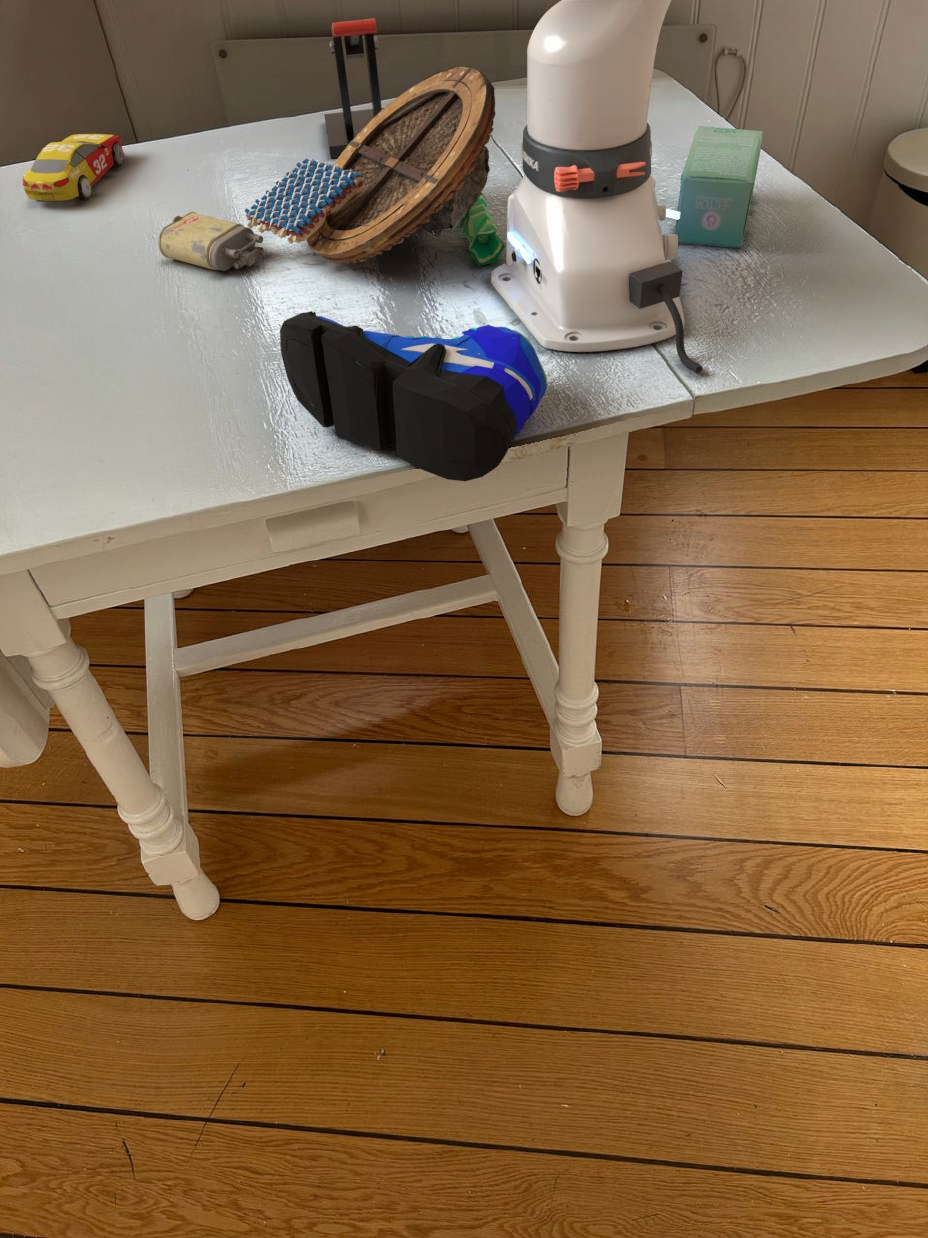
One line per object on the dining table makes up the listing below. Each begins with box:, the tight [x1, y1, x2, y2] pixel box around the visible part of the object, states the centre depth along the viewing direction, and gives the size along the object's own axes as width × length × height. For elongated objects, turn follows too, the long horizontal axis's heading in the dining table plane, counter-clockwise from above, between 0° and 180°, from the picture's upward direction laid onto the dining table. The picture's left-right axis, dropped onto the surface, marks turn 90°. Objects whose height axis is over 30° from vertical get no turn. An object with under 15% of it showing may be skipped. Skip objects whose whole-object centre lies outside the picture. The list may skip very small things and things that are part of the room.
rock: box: [419, 145, 491, 239], centre depth 101 cm, size 17×10×10 cm
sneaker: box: [279, 310, 548, 482], centre depth 79 cm, size 9×24×15 cm
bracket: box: [324, 25, 385, 160], centre depth 121 cm, size 12×10×13 cm
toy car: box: [22, 133, 125, 202], centre depth 119 cm, size 8×17×5 cm, turn 171°
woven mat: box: [244, 158, 364, 245], centre depth 99 cm, size 10×11×2 cm
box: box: [674, 126, 764, 249], centre depth 101 cm, size 7×14×8 cm, turn 164°
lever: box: [331, 18, 378, 60], centre depth 113 cm, size 12×5×2 cm, turn 9°
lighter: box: [157, 211, 265, 272], centre depth 102 cm, size 7×4×10 cm
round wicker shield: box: [305, 66, 496, 264], centre depth 99 cm, size 25×3×25 cm
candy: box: [459, 191, 506, 267], centre depth 102 cm, size 12×3×4 cm
